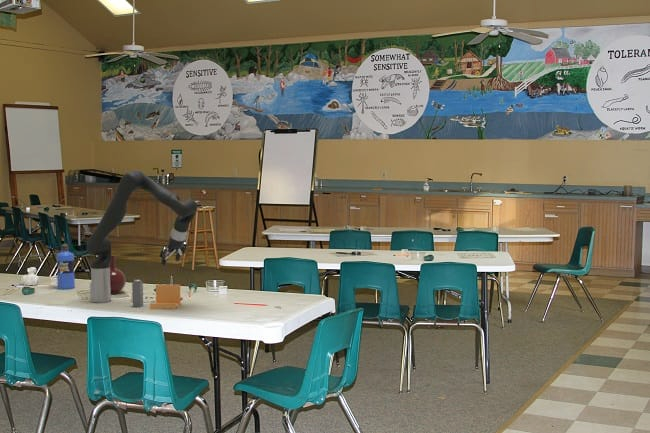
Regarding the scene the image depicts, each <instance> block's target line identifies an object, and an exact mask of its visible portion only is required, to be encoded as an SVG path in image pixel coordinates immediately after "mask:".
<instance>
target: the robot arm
mask: <svg viewBox="0 0 650 433" xmlns="http://www.w3.org/2000/svg"><path fill="white" fill-rule="evenodd" d="M136 190H143V191H146V192H148V193H150V194H151V195H153V197H154V199H155V200H156V201H158V202H159V203H161V204H163V205H164V206H166V207H169V208H170V209H171V210H172V212H174V213H175V214H176V215H177V217H176V218H175V221H174V223H173V226H172V229H171V232H170V235H169V238H168V245H167V247H166V246H162V248H161V251H160V252H159V253H160V254H159V257H160V258H161V264H162V265H163V266H165V265H166V264H167V261H168V258H169V257H171V256H172V255H174V254H175V258H174V260H175V261H176V262H179V261H180V259H181V257H182V256H183V255H184V254H186V253H187V252H186V251H187V247H188V244H187V243H186V239H187V235H188V231H189V228H190V224H191V222H192V220H193V219H194V217H195V215H196V213H197V210H198V204H197V202H196V200H194V199H192V198H187V199H185V200H183V201H180V200H181V198H180V196H179V195H178V194H177V193H175V192H173V191H172V190H169V189H167V188H165V187H163V186H162V185H160V184H159V183H157V182H156V181H155V180H153V179H152V178H150V177H149V176H148V175H147V174H145V173H144V172H143V171H140V170H132V171H129V172H125V173H124V174H123V175H122V176H121V178H120V179H119V182H118V185H117V188H116V191H115V193H114V195H113V197H112V198H111V201H110V202H109V204H108V205H107V208H106V210H105V211H104V213H103V216H102V218H101V219H100V221H99V223H98V224H97V226H96V228H95V229H94V231H93V232H92V233H91V235H90V236H89V238H88V240H87V242H86V250H87V251H86V252H87V253H88V254H89V255H92V256H97V257H96V258H95V259H94V260H93V261H91V263H90V273H91V274H90V276H91V280H90V281H91V282H90V283H89V290H90V291H89V292H90V293H89V295H90V302H91V303H98V304H99V303H108V302H111V300H112V293H111V289H110V262H111V256H112V243H111V239H110V238H109V236H108V235H109V234H111V232H113V231H114V230H116V229H117V227H119V226H120V225H121V223H122V222H123V220H124V218H125V216H126V214H127V210H128V206H127V205H128V200H129V199H130V197H131V195H132V193H133V192H135V191H136Z"/></svg>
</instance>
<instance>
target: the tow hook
mask: <svg viewBox="0 0 650 433" xmlns="http://www.w3.org/2000/svg"><path fill="white" fill-rule="evenodd" d="M169 285H174V281H173V276H172V275H170V282H169ZM181 301H183V297H182V296H181Z"/></svg>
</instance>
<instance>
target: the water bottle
mask: <svg viewBox="0 0 650 433" xmlns="http://www.w3.org/2000/svg"><path fill="white" fill-rule="evenodd" d="M69 250H70V247H69V244H67V243H62V244H61V248H60V252H59V253H57V254H56V255H55V256H56V257H55V258H56V264H57V273H56V274H57V275H56V276H57V290H61V291H62V290H63V291H65V290H66V291H68V290H73V289H75V288H76V287H75V286H76V284H75V283H76V282H75V269H74V265H75V264H74V262H75V254H74V253H73V252H71V251H69Z"/></svg>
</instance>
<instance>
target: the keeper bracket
mask: <svg viewBox="0 0 650 433" xmlns="http://www.w3.org/2000/svg"><path fill="white" fill-rule="evenodd" d="M181 297H182V296H181V284H173V285H170V284H155V302H150V304H149V309H151V310H164V309H163V308H167V309H166V310H170V309H169V308H175V309H177V308H179V307H180V306H181V305H182V303H181V302H182V300H181ZM179 305H180V306H179ZM176 307H177V308H176Z"/></svg>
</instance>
